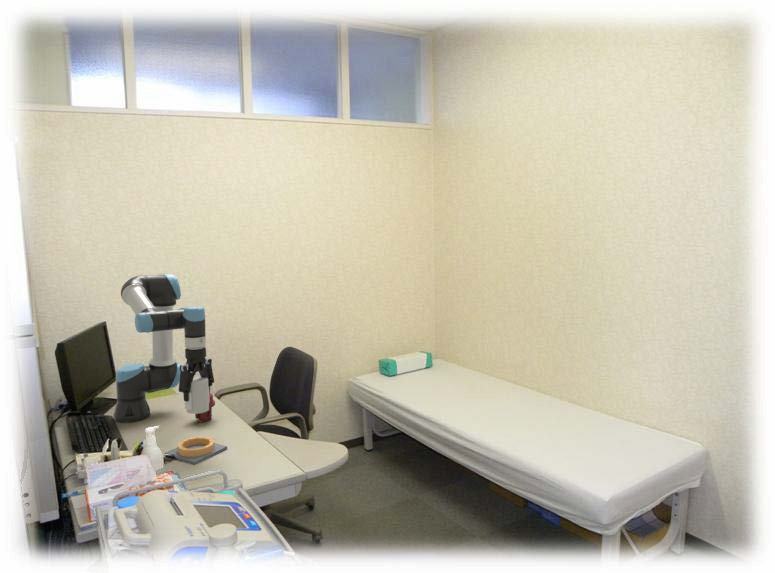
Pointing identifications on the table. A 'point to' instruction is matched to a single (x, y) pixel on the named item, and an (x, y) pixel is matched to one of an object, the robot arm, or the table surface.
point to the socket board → (200, 458)
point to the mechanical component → (207, 414)
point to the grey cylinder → (199, 395)
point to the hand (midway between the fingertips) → (197, 405)
